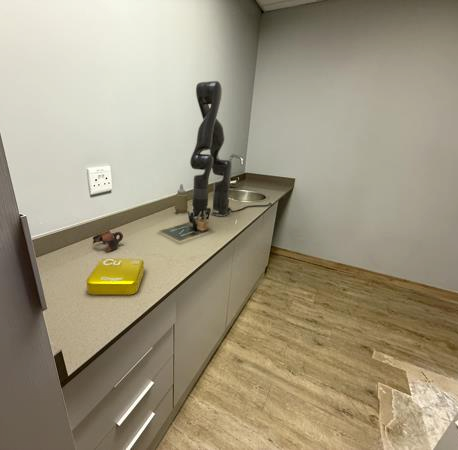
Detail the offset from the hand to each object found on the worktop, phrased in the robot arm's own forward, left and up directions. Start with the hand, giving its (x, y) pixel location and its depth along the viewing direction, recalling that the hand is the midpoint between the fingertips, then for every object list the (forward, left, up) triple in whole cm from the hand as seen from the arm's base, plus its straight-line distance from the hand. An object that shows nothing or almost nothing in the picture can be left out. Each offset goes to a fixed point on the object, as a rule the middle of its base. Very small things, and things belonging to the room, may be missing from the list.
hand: (199, 229), depth 123 cm
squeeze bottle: (-12, -28, -1) cm, 31 cm away
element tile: (+51, +15, -1) cm, 53 cm away
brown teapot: (+42, -11, -1) cm, 44 cm away
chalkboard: (+6, -3, -1) cm, 7 cm away
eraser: (0, 0, 0) cm, 0 cm away
